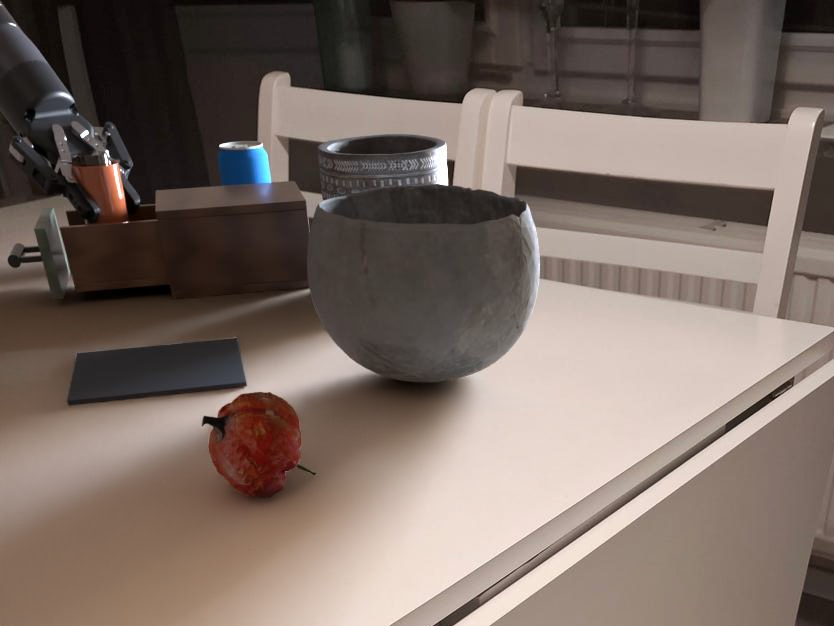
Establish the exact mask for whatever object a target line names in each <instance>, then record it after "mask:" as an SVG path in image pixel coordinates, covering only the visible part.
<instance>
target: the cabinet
mask: <svg viewBox="0 0 834 626" xmlns="http://www.w3.org/2000/svg"><path fill="white" fill-rule="evenodd" d="M155 204H156V205H155V212H156V217H157V222H158V227H159V232H160V237H161V242H162V247H163V252H164V257H165V262H166V267H167V272H168V277H169V282H170V284H169V286H170V292H171V297H172V300H177V299H178V300H179V299H188V298H199V297H211V296H212V297H213V296H223V295H235V294H243V293H244V294H245V293H246V294H247V293H255V292H256V293H257V292H269V291H279V290H280V291H281V290H290V289H291V290H292V289H301V288H302V289H303V288H309V281H308V272H307V249H308V241H309V233H310V229H311V228H310V222H309V214H308V203H307V200H306V198H305V196H304V194H303V193H302V191H301V189H300V188H299V186H298V185H297V183H296V181H295V180H287V181H275V182H274V181H273V182H272V181H271V183H256V184H242V185H227V186H222V185H215V186H200V187H187V188H186V187H185V188H184V187H183V188H172V189H157V190H155Z"/></svg>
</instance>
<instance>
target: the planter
mask: <svg viewBox="0 0 834 626" xmlns="http://www.w3.org/2000/svg"><path fill="white" fill-rule="evenodd" d="M447 156H448V155H447V142H446V141H445V140H443V139H441V138H438V137H432V136H427V135H420V134H412V133H411V134H410V133H409V134H408V133H386V134H374V135H362V136H352V137H346V138H345V137H344V138H339V139H333V140H328V141H324V142H322V143H321V144H319V145H318V146H317V159H318V168H319V169H318V170H319V181H320V187H321V188H320V189H321V199H322V201H323V200H327V199H330V198H335V197H341V196H346V195H349V194H351V193H353V192H361V191H364V190H368V189H372V188H379V187H385V186H403V185H428V184H441V185H449V175H448V164H447V163H448V160H447V159H448V158H447Z"/></svg>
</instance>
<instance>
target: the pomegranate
mask: <svg viewBox="0 0 834 626" xmlns="http://www.w3.org/2000/svg"><path fill="white" fill-rule="evenodd" d="M300 423H301V422H300V418H299V415H298V413H297V412H296V410H295V408H294V407H293V406H292V405H291V404H289V402H288V401H287V400H286V399H285V398H283V397H281V396H278V395H277V394H274V393H272V392H270V391H268V392H264V391H254V392H247V393H246V392H245V393H241V394H239V395H238V396H237V397H235V398H234V399H233V400H232V401H231V402H228V403H226V404H224V405H222V406H221V407H220V409H218V411H217V416H209V415H203V417H202V421H201V427H204V426H205V425H209V426H211V427H212V429H211V431H210V432H209V435H208V441H207V443H208V444H207V449H208V453H209V457H210V460H211V463H212V466H214V468H215V470H216V472H217V474H219V475H220V476H221V477H222V478H224V480H225V481H227V483H228V484H229V485H230V486H231V487H232V488H233V489H234V490H235V491H237V492H239V493H240V494H242V495H244V496H248V497H249V498H250V497H251V498H272V497H273V496H275V495H277V494H279V493H280V492H282V491H283V490H284V488H285V486H286V482H287V474H286V473H287V472H289V471H292V470H295V469H296V468H297V469H298V470H301V471H303V472H306V473H308V474H310V475H312V476H316V475H317V472H315V471H312V470H311V469H309V468H307V467H305V466H304V465H301V464H299V463H300V462H301V459H302V451H301V446H302V443H303V440H302V439H303V438H302V437H303V436H302V430H301V424H300Z"/></svg>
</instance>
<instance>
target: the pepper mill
mask: <svg viewBox="0 0 834 626" xmlns="http://www.w3.org/2000/svg"><path fill="white" fill-rule="evenodd" d="M78 158H79V162H77V163H74V164H72V168H73V171H74V174H75V177H76V183H81V184H82V186H83V187H84V188H85V190H86V191H87V193H88V194H89V195H90V197H91V198H92V200H93V201H94V202H95V204H96V205H97V206H98V208H99V210H100V215H99V217H98V220H97V222H96V223H92V224H102V223H115V222H129V221H130V218H129V213H128V208H127V204H126V199H125V194H124V189H123V184H122V180H121V175H120V170H119V165H118V162H117V161H114V160H109V157H108V153H107V152H105V151H89V152H82V153H79V154H78ZM85 224H86V225H88V224H89V223H88V221H87V220H86V219H85Z"/></svg>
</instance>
